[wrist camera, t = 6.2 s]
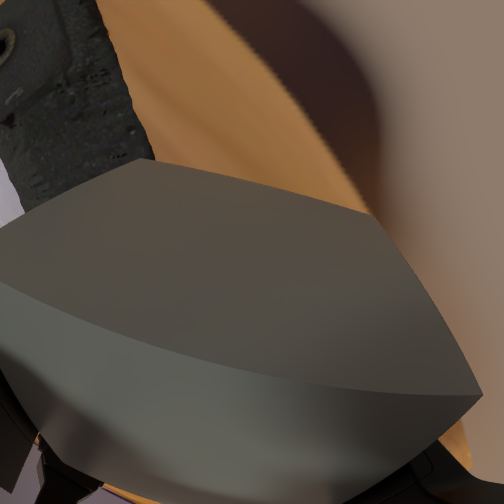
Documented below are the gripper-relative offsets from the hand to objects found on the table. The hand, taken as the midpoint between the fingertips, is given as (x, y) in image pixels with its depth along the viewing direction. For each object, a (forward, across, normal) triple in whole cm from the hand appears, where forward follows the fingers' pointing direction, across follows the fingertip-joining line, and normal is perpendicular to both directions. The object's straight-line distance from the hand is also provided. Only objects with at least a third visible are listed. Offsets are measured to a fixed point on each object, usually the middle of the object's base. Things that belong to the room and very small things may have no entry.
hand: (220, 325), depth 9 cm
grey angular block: (+2, 0, 0) cm, 2 cm away
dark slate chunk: (+13, +19, -5) cm, 23 cm away
